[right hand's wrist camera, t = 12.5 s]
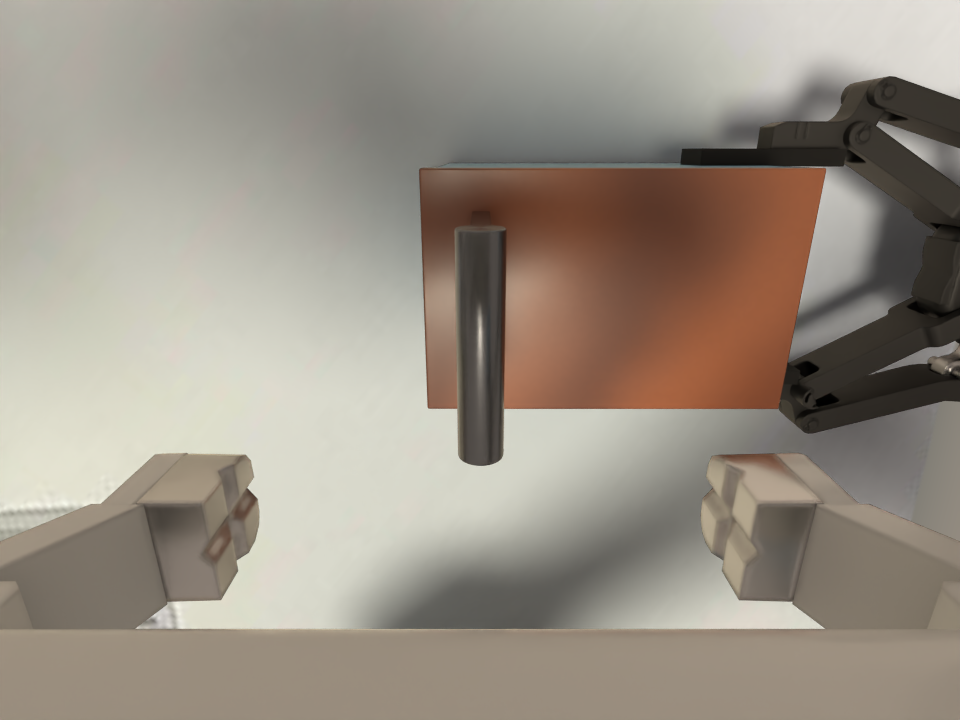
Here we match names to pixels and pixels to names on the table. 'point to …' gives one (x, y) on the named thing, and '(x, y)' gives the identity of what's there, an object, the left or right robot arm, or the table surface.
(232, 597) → the table surface
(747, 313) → the lid
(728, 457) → the right robot arm
